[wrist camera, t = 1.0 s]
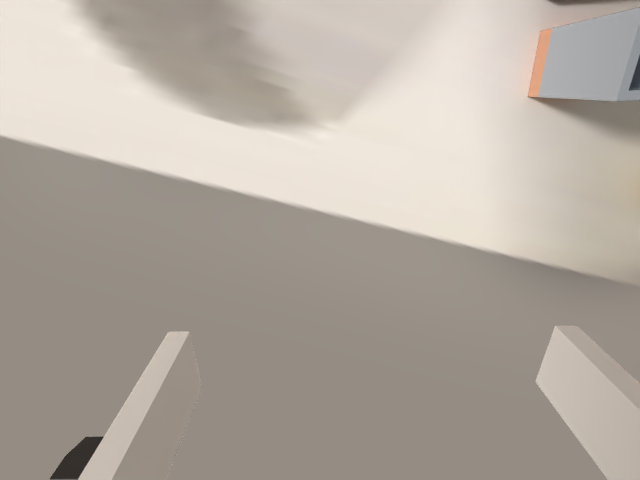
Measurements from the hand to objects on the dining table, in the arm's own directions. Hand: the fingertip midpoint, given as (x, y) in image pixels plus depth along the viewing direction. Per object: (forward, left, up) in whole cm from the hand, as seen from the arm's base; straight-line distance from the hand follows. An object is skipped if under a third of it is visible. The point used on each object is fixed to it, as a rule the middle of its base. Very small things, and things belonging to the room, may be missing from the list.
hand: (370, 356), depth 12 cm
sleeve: (-10, +21, -24) cm, 33 cm away
